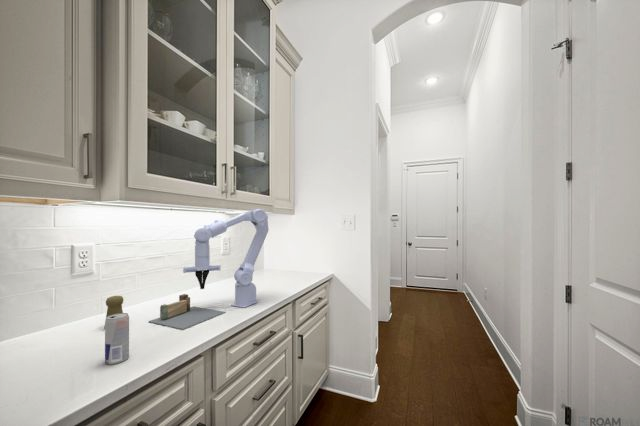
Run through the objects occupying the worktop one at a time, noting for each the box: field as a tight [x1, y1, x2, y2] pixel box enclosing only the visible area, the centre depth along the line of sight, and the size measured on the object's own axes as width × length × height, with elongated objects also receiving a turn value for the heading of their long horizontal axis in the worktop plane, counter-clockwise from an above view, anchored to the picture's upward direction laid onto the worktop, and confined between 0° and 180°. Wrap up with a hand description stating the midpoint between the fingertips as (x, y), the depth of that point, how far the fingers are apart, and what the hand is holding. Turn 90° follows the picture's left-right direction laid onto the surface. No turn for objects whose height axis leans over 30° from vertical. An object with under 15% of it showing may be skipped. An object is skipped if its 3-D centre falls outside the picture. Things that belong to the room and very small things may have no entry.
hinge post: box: [178, 293, 189, 301], centre depth 117 cm, size 2×2×7 cm
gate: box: [160, 296, 191, 319], centre depth 111 cm, size 2×12×5 cm, turn 155°
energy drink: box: [104, 312, 130, 365], centre depth 77 cm, size 5×5×12 cm
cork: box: [103, 295, 124, 330], centre depth 101 cm, size 6×6×11 cm
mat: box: [148, 306, 226, 331], centre depth 110 cm, size 20×19×1 cm
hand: (202, 288), depth 118 cm, fingers closed
